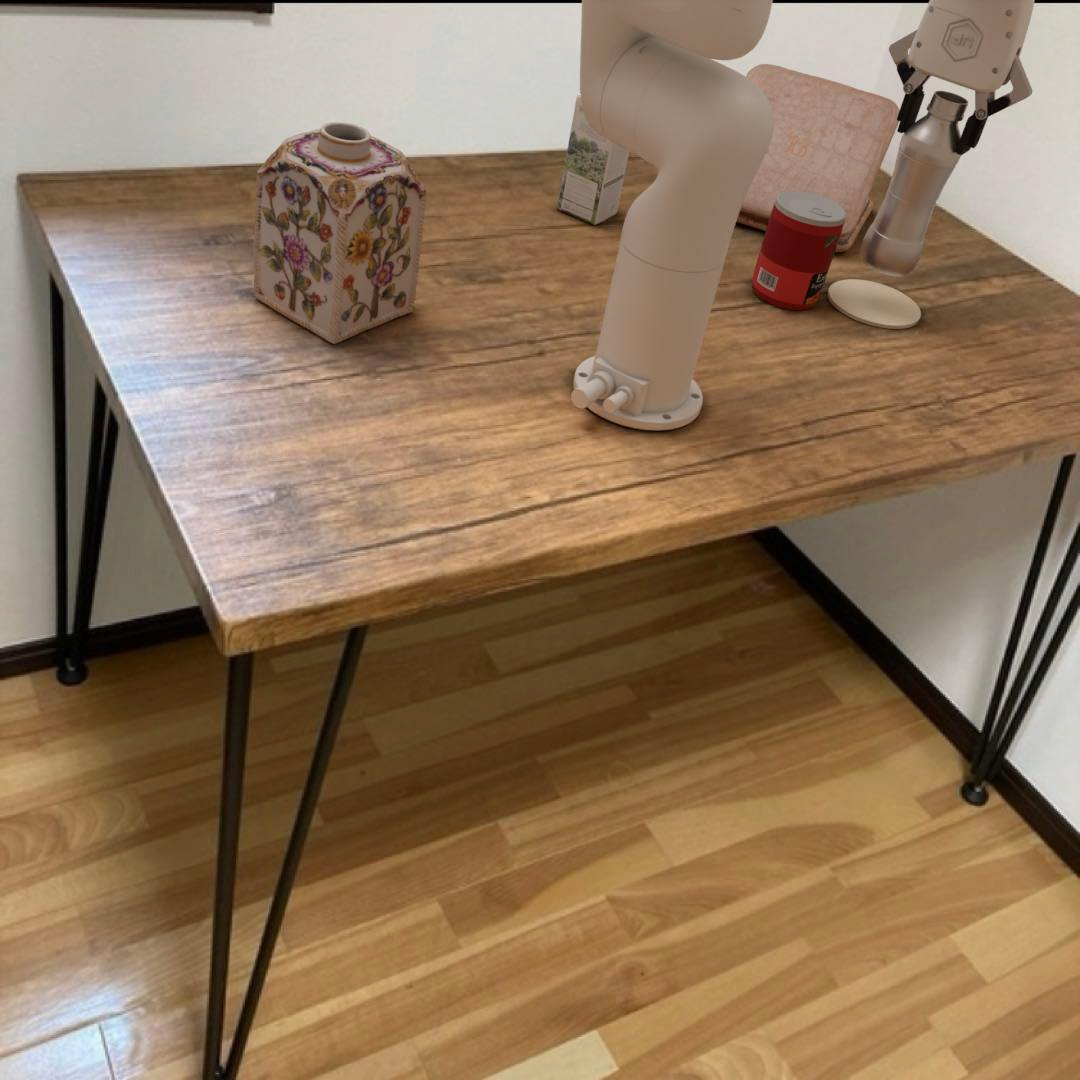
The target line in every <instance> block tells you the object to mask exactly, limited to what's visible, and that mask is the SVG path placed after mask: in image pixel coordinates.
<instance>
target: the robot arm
mask: <svg viewBox="0 0 1080 1080" xmlns="http://www.w3.org/2000/svg"><path fill="white" fill-rule="evenodd" d="M773 1H774V0H581V21H580V22H581V23H580V52H579V53H580V55H579V57H580V58H579V59H580V60H579V93H580V98H581V104H582V109H583V112H584V115H585V117H586V119H587V121H588V123H589V124H590V126H591V127H592V128H593V129H594V130H595V131H596V132H597V133H599V134H600V135H601V136H603V137H604V138H606V139H608V140H609V141H611V142H613V143H615V144H617V145H618V146H620V147H622V148H624V149H626V150H628V151H629V153H631V154H633V155H635V156H637V157H639V158H641V159H642V160H644V161H645V162H647V163H648V164H650V165H651V166H653V167H654V168H655V169H656V171H657V176H656V178H655V180H654V181H653V182H652V184H651V185H649V186H648V187H647V188H646V189H645V190H644V191H643V192H641V193H640V194H639V195H638V196H637V197H636V198H635V199H634V200H633V202H632V203H631V205H630V207H629V209H628V210H627V212H626V214H625V218H624V220H623V224H622V230H621V235H620V240H619V244H618V248H617V249H618V250H617V254H616V259H615V263H614V268H613V271H612V275H611V276H612V277H611V281H610V286H609V292H608V296H607V299H606V305H605V309H604V313H603V317H602V323H601V327H600V332H599V336H598V341H597V345H596V350H595V354H594V355H592V356H590V357H588V358H586V359H584V360H582V361H581V363H580V364H579V365H577V367H576V370H575V372H574V375H573V381H572V384H573V390H572V392H571V393H570V400H571V403H572V404H573V406H574V407H576V408H577V409H579V410H583V409H586V408H587V409H589V410H590V411H591V412H592V413H594V414H596V415H597V416H599V417H601V418H603V419H605V420H607V421H610V422H612V423H614V424H618V425H620V426H623V427H627V428H630V429H636V430H641V431H659V432H660V431H670V430H675V429H678V428H682V427H684V426H686V425H689V424H691V423H693V421H694V420H696V419H697V417H698V416H699V414H700V413H701V409H702V407H703V403H704V396H703V393H702V389H701V388H700V386H699V384H698V383H697V382H696V381H695V379H693V378H694V374H695V371H696V368H697V363H698V359H699V356H700V354H701V353H700V352H701V349H702V345H703V341H704V338H705V334H706V332H707V331H706V330H707V328H708V324H709V319H710V318H711V317H710V316H711V312H712V309H713V305H714V302H715V298H716V294H717V291H718V289H719V288H718V287H719V284H720V281H721V280H720V279H721V276H722V275H723V274H722V273H723V269H724V266H725V263H726V258H727V255H728V251H729V247H730V244H731V240H732V237H733V234H734V230H735V227H736V223H737V222H736V221H737V218H738V215H739V212H740V209H741V206H742V204H743V202H744V199H745V197H746V194H747V192H748V190H749V188H750V185H751V183H752V181H753V179H754V177H755V175H756V173H757V171H758V169H759V167H760V165H761V163H762V161H763V159H764V157H765V155H766V152H767V150H768V148H769V145H770V142H771V139H772V136H773V131H774V114H773V109H772V106H771V104H770V102H769V100H768V98H767V97H766V95H765V94H764V92H763V91H762V90H761V89H760V88H759V87H758V86H757V85H756V84H755V83H753V82H752V81H751V80H750V79H748V78H747V77H746V75H743V74H742V73H740V72H738V71H736V70H735V69H733V68H731V67H729V66H727V65H725V64H722V63H720V62H718V61H732V60H738V59H741V58H744V57H745V56H746V55H747V54H749V53H750V52H752V51H753V50H754V49H755V48H756V47H757V46H758V44H759V43H760V41H761V39H762V38H763V36H764V33H765V32H766V29H767V26H768V23H769V19H770V15H771V10H772V6H773ZM1034 6H1035V0H929V1H928V4H927V5H926V8H925V10H924V13H923V16H922V17H921V20H920V22H919V25H918V27H917V29H916V30H914V31H913V32H911V33H909V34H907V35H905V36H903V37H902V38H899V39H898V40H896V41H895V42H893V43H892V44H890V45H889V48H888V52H889V54H890V56H891V58H892V61H893V63H894V65H895V66H896V71H897V74H898V76H899V79H900V82H901V83H902V85H903V86H902V90H903V93H904V97H903V99H902V102H901V105H900V108H899V114H898V117H897V121H899V123H898V126H897V129H896V130H897V133H899V134H904V133H905V132H906V130H907V129H908V128H909V127H910V126H911V125H913V124H914V123H915V122H916V121H917V118H918V114H919V112H920V109H921V106H922V104H923V101H924V98H925V96H926V93H925V91H924V85H926V83H928V81H929V80H930V78H932V77H935V78H937V79H940V80H942V81H946V82H947V83H951V84H954V85H957V86H960V87H962V88H966V89H969V90H972V91H974V110H973V113H972V115H970V116H968V118H967V120H966V122H965V125H964V127H963V130H962V133H961V134H960V135H961V138H960V141H959V143H958V146H957V148H956V152H957V154H959V155H961V156H964V154H966V153H968V152H969V151H970V150H971V149H975V148H976V147H977V146H978V144H979V142H980V139H981V137H982V134H983V131H984V129H985V126H986V123H987V121H988V118H989V117H991V116H993V115H995V114H997V113H999V112H1002V111H1003V110H1006V109H1007V108H1009V107H1011V106H1013V105H1016V104H1017V103H1019V102H1021V101H1023V100H1026V99H1027V98H1029V97H1030V96H1032V94H1033V88H1032V86H1031V83H1030V81H1029V78H1028V76H1027V74H1026V71H1025V68H1024V66H1023V64H1022V62H1021V61H1022V60H1021V58H1020V56H1021V53H1022V50H1023V47H1024V43H1025V40H1026V37H1027V33H1028V30H1029V27H1030V22H1031V18H1032V14H1033V11H1034ZM1009 82H1010V83H1011V85H1012V90H1011V91H1010V92H1008V93H1006V94H1003V95H1001V96H999V97H998V98H996V91H997V90H999V89H1000V88H1001V87H1003V86H1006V85H1007V84H1008V83H1009Z"/></svg>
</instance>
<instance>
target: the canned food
mask: <svg viewBox="0 0 1080 1080" xmlns="http://www.w3.org/2000/svg"><path fill="white" fill-rule="evenodd" d="M845 217H846V212H845V210H844V209H843V208H842V207H841V206H839V205H838V204H837V203H835V202H833V201H831V200H829V199H827V198H825V197H822V196H819V195H816V194H812V193H808V192H801V191H787V192H782V193H780V194H778V196H777V197H776V200H775V202H774V206H773V209H772V212H771V215H770V219H769V222H768V226H767V229H766V231H765V233H764V236H763V239H762V244H761V246H760V250H759V253H758V256H757V259H756V260H757V261H756V264H755V268H754V271H753V275H752V278H751V288H752V291H753V292H754V294H755V295H756V296H757V297H758V298H759V299H761V300H762V301H764V302H765V303H767V304H770V305H772V306H775V307H778V308H781V309H785V310H791V311H805V310H808V309H811V308H813V307H814V306H815V305H816V304H817V302H818V301H819V299H820V297H821V294H822V291H823V288H824V285H825V282H826V279H827V276H828V273H829V270H830V268H831V265H832V261H833V259H834V256H835V253H836V252H835V250H836V247H837V244H838V241H839V238H840V235H841V232H842V229H843V225H844V222H845Z"/></svg>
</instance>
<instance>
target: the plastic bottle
mask: <svg viewBox="0 0 1080 1080" xmlns="http://www.w3.org/2000/svg"><path fill="white" fill-rule="evenodd" d="M968 106H969V100H968V99H966V98H965V97H963V96H961V95H958V94H957V93H954V92H950V91H945V90H935V91H934V92H933V94H932V97H931V98H930V102H929V103H928V104H927V106H926V111H927V113H926V115H924V116H922V117H921V118H919V119H918V120H916V121H915V123H914V124H913V125H911V126H910V127H909V128H908V129H907V130H906V132H905V133H902V136H901V139H900V141H899V146H898V151H897V155H896V159H895V164H894V169H893V172H892V175H891V177H890V181H889V186H888V188H887V191H886V194H885V197H884V199H883V201H882V203H881V205H880V207H879V209H878V211H877V214H876V216H875V218H874V220H873V222H872V223H871V224H870V226H869V227H868V229H867V231H866V233H865V235H864V237H863V238H862V242H861V248H860V256H861V259H862V260H861V261H862V263H863V264H864V265H866V267H868V268H869V269H870V270H873V271H875V272H877V273H880V274H881V275H885V276H889V277H896V278H900V277H905V276H908V275H909V274H910V273H911V272H913V271H914V270H915V268H916V267H917V265H918V263H919V261H920V260H921V257H922V253H923V250H924V243H925V238H926V234H927V231H928V227H929V225H930V222H931V217H932V215H933V211H934V209H935V207H936V205H937V201H939V198H940V196H941V194H942V192H943V189H944V188H945V186H946V184H947V182H948V181H949V179H950V177H951V175H952V174H953V172H954V170H955V168H956V166H957V165H958V163H959V162H960V159H961V157H962V155H959V154H957V152H956V148H957V146H958V143H959V141H960V138H961V135H962V134H961V131H960V128H959V122H962V121H963V120H964V117H965V113H966V111H967V108H968Z"/></svg>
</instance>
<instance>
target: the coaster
mask: <svg viewBox="0 0 1080 1080" xmlns="http://www.w3.org/2000/svg"><path fill="white" fill-rule="evenodd" d="M826 294H827V299H828V302H829V303H830V304H831V305H832V306H833V307H834V308H835V309H836V310H838V312H840V313H841V314H843V315H844V316H847V317H848V318H851V319H853V320H855V321H857V322H860V323H861V324H865V325H868V326H871V327H875V328H882V329H887V330H888V329H889V330H904V329H908V328H911V327H914V326H915V325H917V324H918V323H919V321H920V320H921V317H922V311H921V309H920V307H919V305H918V304H917V303H916V302H915V301H914V300H913V299H912V298H911V297H909V296H908V295H906V294H905V293H903V292H901V291H899V290H898V289H895V288H894V287H891V286H889V285H885V284H883V283H879V282H876V281H871V280H865V279H858V278H849V279H848V278H847V279H841V280H837V281H834V282H833V283H832V284H830V285H829V287H828V290H827V293H826Z"/></svg>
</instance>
